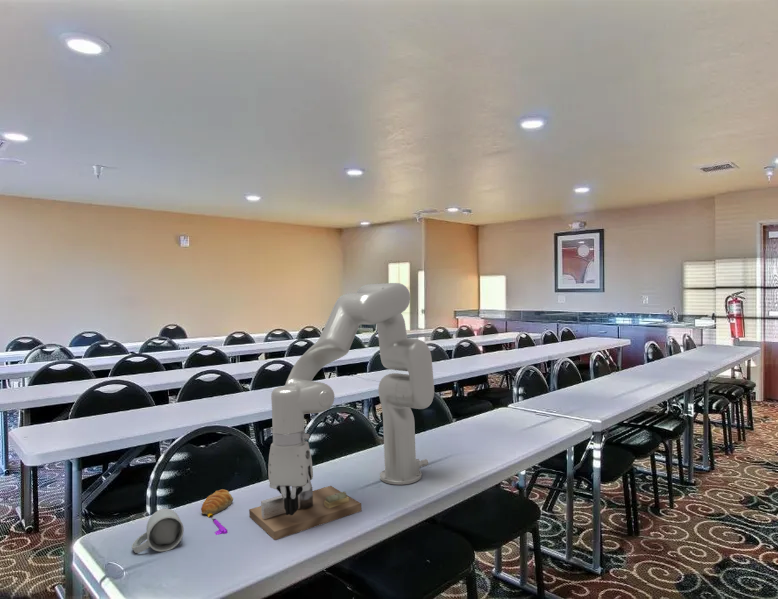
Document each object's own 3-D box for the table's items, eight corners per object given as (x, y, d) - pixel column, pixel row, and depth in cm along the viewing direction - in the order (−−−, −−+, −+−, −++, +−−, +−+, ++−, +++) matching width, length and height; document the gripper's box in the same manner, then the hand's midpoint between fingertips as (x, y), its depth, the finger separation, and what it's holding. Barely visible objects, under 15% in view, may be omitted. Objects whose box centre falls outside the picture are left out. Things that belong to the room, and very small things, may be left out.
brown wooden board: (330, 492, 147) (330, 475, 147) (361, 510, 134) (360, 492, 134) (249, 517, 133) (248, 498, 133) (274, 540, 120) (273, 519, 120)
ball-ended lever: (308, 500, 136) (308, 484, 136) (315, 505, 133) (315, 488, 133) (259, 515, 128) (259, 497, 128) (266, 520, 125) (265, 502, 125)
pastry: (218, 517, 134) (217, 502, 134) (194, 516, 135) (193, 501, 135) (235, 502, 143) (234, 488, 143) (212, 501, 144) (211, 488, 144)
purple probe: (228, 533, 125) (208, 512, 138) (227, 529, 125) (207, 508, 137) (218, 539, 123) (198, 517, 136) (216, 534, 123) (197, 513, 136)
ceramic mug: (179, 532, 126) (177, 501, 125) (184, 546, 119) (182, 513, 118) (131, 545, 120) (128, 513, 120) (133, 561, 113) (131, 526, 113)
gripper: (323, 434, 127) (325, 508, 127) (267, 432, 131) (270, 504, 131) (311, 443, 120) (314, 521, 120) (253, 441, 123) (256, 517, 124)
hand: (291, 512), depth 126 cm, fingers closed
